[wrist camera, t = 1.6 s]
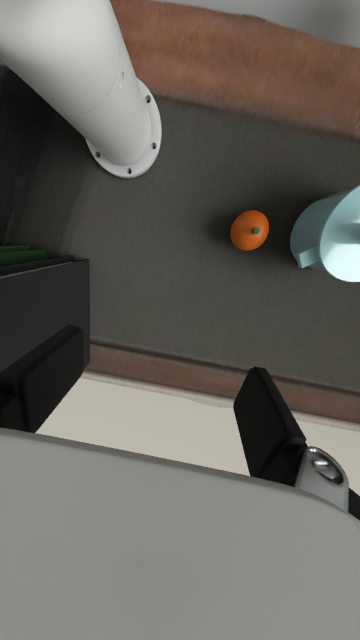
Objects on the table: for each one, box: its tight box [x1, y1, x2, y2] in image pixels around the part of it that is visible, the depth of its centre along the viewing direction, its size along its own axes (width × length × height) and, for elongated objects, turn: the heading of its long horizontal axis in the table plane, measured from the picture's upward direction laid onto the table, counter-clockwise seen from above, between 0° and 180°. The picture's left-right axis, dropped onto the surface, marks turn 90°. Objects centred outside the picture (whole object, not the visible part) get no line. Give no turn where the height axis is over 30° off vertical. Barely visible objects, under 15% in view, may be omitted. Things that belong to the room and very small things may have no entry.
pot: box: [290, 187, 355, 273], centre depth 31 cm, size 13×18×10 cm
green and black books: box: [0, 245, 90, 372], centre depth 30 cm, size 27×15×32 cm, turn 167°
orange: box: [230, 210, 269, 251], centre depth 32 cm, size 6×6×8 cm
